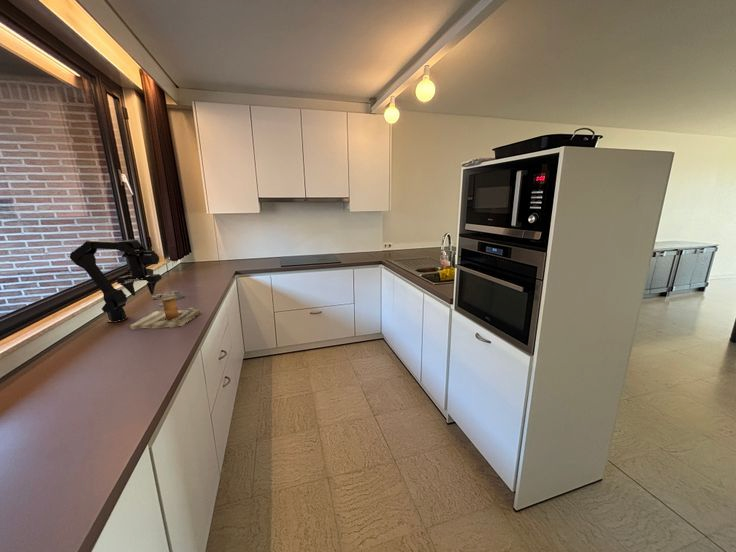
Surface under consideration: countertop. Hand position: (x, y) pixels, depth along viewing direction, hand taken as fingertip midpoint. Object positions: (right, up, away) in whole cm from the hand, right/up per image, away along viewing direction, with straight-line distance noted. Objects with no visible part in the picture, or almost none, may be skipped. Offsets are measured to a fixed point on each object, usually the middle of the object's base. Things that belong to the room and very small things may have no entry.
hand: (143, 295), depth 155 cm
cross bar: (+21, -11, -1) cm, 24 cm away
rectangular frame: (+13, -13, 0) cm, 18 cm away
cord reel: (+16, -13, 0) cm, 20 cm away
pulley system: (-8, -6, +34) cm, 35 cm away
